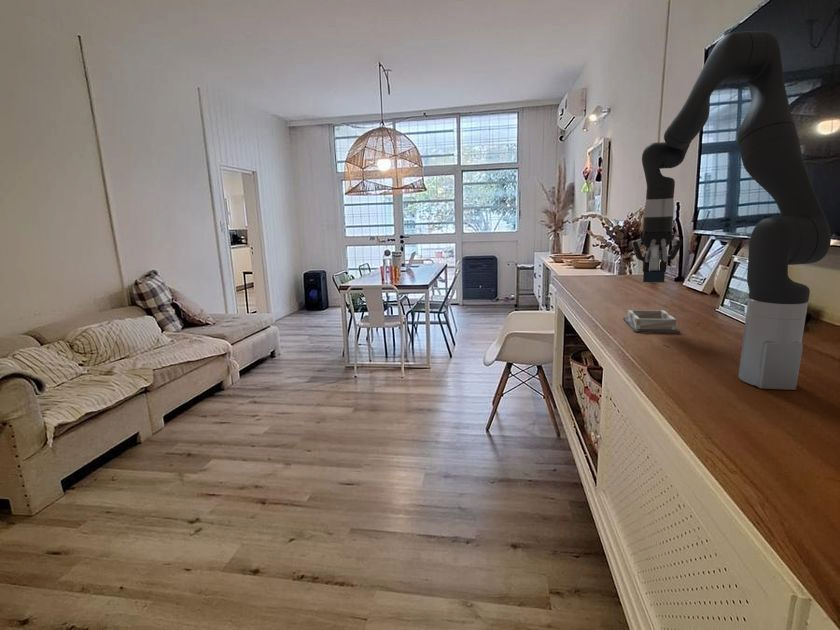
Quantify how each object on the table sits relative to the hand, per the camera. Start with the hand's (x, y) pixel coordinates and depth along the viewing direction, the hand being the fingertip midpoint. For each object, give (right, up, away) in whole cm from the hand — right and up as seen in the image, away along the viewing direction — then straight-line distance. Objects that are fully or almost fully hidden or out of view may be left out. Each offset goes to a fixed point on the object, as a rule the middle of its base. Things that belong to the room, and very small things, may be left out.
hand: (654, 274), depth 131 cm
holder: (+1, -16, +4) cm, 16 cm away
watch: (0, -2, +1) cm, 2 cm away
